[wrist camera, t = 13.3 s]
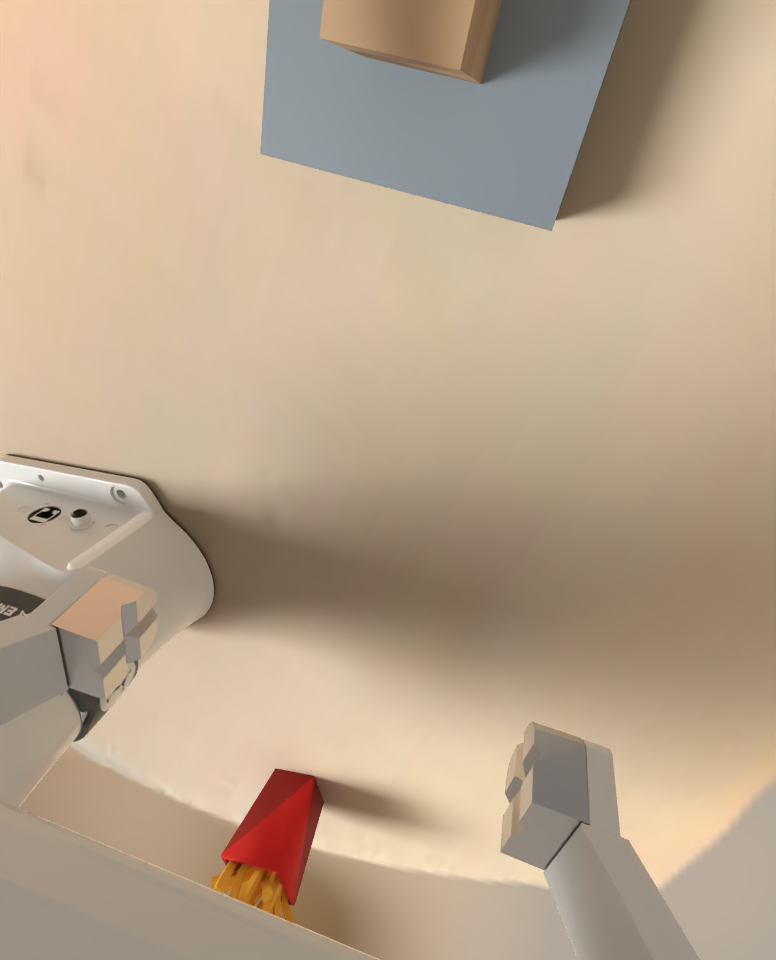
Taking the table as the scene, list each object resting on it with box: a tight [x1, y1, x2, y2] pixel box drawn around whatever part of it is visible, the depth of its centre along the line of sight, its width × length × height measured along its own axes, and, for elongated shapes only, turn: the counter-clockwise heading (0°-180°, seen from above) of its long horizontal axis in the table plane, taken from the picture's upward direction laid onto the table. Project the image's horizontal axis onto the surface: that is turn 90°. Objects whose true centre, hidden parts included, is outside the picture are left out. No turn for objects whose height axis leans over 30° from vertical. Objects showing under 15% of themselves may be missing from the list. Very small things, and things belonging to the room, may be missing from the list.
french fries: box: [212, 769, 323, 924], centre depth 55 cm, size 9×8×15 cm
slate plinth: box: [261, 0, 630, 231], centre depth 23 cm, size 14×14×4 cm
